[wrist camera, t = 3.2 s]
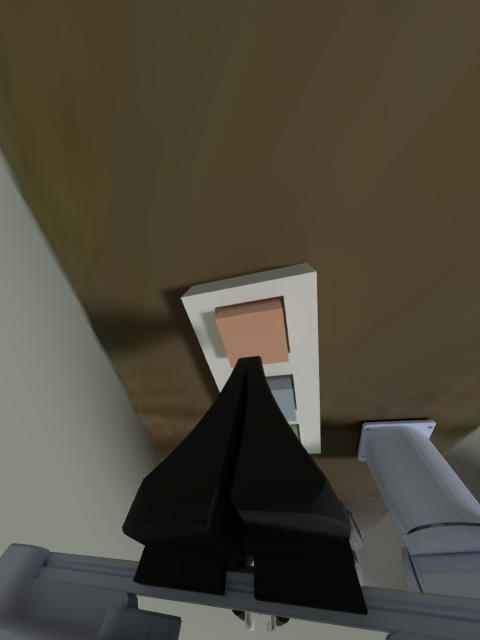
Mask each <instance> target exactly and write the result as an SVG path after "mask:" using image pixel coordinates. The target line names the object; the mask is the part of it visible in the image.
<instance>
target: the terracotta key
mask: <svg viewBox="0 0 480 640" xmlns="http://www.w3.org/2000/svg"><path fill="white" fill-rule="evenodd" d="M215 322H216V324H217V327H218V330H219V333H220V336H221V339H222V342H223V345H224V348H225V351H226V354H227V357H228V360H229V363H230V366H231V368H234V367H235V365H236V363H237V360H238V359H239V358H244V357H252V356H260V357H261V359H262V364H272V363H281V362H289V357H288V350H287V342H286V334H285V326H284V318H283V310H282V305H281V302H280V298H279V297H275V298H270V299H264V300H258V301H252V302H247V303H241V304H235V305H230V306H224V307H220V308H219V310H218V313H217V315H216V317H215Z"/></svg>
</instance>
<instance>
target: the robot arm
mask: <svg viewBox="0 0 480 640" xmlns="http://www.w3.org/2000/svg"><path fill="white" fill-rule="evenodd" d="M435 425H436V423H435V422H434V421H433V420H410V421H387V422H366V423H364V424H363V426H362V432H361V438H360V444H359V450H358V456H357V458H358V460H359V461H366V463H367V465H368V467H369V469H370V472H371V474H372V476H373V478H374V480H375V483H376V485H377V487H378V489H379V492H380V494H381V496H382V498H383V501H384V503H385V505H386V507H387V510H388V512H389V513H390V515H391V517H392V518H393V520H394V521H395V523H396V524H397V525H398V526H399V527H400V529H401V530H402V531H403V532H404V533H405V534H406V535H402V538H403V540H404V543H405V545H406V546H405V547H403V549H402V567H403V571H404V575H405V578H406V581H407V584H408V587H409V590H410V591H406V590H396V589H387V588H378V587H369V586H361V585H360V582H359V578H358V575H357V571H356V568H355V559H354V556H353V552H352V549H351V545H350V542H349V541H350V536H351V532H352V531H351V526H350V523H349V521H348V518H347V516H346V513H345V511H344V509H343V507H342V505H341V503H340V501H339V500H338V498H337V496H336V494H335V492H334V491H333V489H332V487H331V485H330V483H329V481H328V480H327V478H326V476H325V475H324V474H323V472H322V471H321V470H320V468H319V467H318V466H317V464H316V463H315V462H314V460H313V459H312V457H311V456H310V455H309V453H308V452H307V450H306V449H305V448H304V446H303V445H302V443H301V442H300V440H299V439H298V437H297V436H296V434H295V433H294V431H293V429H292V428H291V426H290V425H289V423H288V422H287V420H286V418H285V417H284V415H283V413H282V411H281V410H280V408H279V406H278V404H277V402H276V400H275V398H274V396H273V394H272V392H271V390H270V387H269V385H268V383H267V380H266V377H265V373H264V368H263V364H262V359H261V357H260V356H252V357H244V358H239V359H238V360H237V363H236V365H235V367H234V369H233V371H232V373H231V375H230V377H229V378H228V380H227V382H226V384H225V386H224V387H223V389H222V390H221V392H220V394H219V395H218V397H217V398H216V400H215V401H214V403H213V404H212V406H211V407H210V409H209V410H208V411H207V413H206V414H205V415H204V417H203V418H202V419H201V420H200V422H199V423H198V424H197V425H196V427H195V428H194V429H193V430H192V431H191V432H190V434H189V435H188V436H187V437H186V438H185V439H184V440H183V441H182V442H181V443H180V444H179V445H178V446H177V448H176V449H175V450H174V451H173V452H172V453H171V454H170V455H169V456H168V457H167V458H166V459H165V460H164V461H162V462H161V463H160V464H159V465H158V466H157V467H156V468H155V469H154V470H153V471H152V472H151V473H150V474H149V475H147V476H146V477H145V478H144V479H143V482H142V483H141V486H140V487H139V489H138V492H137V494H136V496H135V499H134V501H133V503H132V506H131V508H130V510H129V513H128V515H127V517H126V520H125V522H124V524H123V527H122V530H123V532H124V534H126V535H127V536H129V537H130V538H132V539H134V540H136V541H138V542H139V543H141V544H143V545H145V547H144V550H143V553H142V556H141V559H140V561H130V560H120V559H111V558H103V557H93V556H84V555H75V554H66V553H57V552H49V550H48V549H45V548H42V547H38V546H33V545H25V544H15V543H13V544H11V545H9V546H8V548H7V549H6V550H5V552H4V553H3V554H2V556H1V557H0V640H178V637H179V632H180V627H181V617H177V616H172V615H167V614H162V613H157V612H152V611H146V610H140V609H139V608H138V599H137V596H136V595H139V596H146V597H153V598H159V599H166V600H173V601H179V602H186V603H193V604H200V605H207V606H213V607H220V608H226V609H233V610H240V611H246V612H253V613H260V614H267V615H273V616H280V617H287V618H294V619H300V620H307V621H313V622H320V623H327V624H333V625H340V626H347V627H354V628H360V629H367V630H374V631H381V632H387V633H390V634H388V635H387V637H386V640H480V505H479V503H478V502H477V501H476V499H475V498H474V497H473V496H472V494H471V493H470V492H469V490H468V489H467V488H466V487H465V485H464V484H463V483H462V481H461V480H460V479H459V477H458V476H457V475H456V474H455V472H454V471H453V470H452V468H451V467H450V466H449V465H448V464H447V462H446V461H445V460H444V458H443V457H442V456H441V454H440V453H439V452H438V450H437V449H436V448H435V447H434V445H433V444H432V443H431V441H430V440H429V437H430V435H431V433H432V431H433V429H434V427H435ZM253 561H254V574H250V573H241V572H238V568H241V569H246V566H250V565H251V564H252V562H253Z"/></svg>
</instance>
